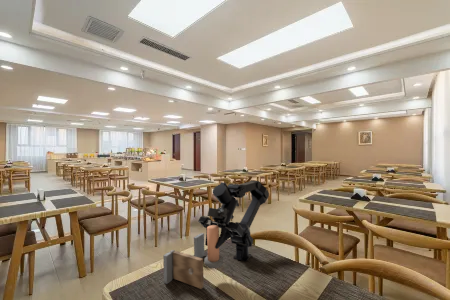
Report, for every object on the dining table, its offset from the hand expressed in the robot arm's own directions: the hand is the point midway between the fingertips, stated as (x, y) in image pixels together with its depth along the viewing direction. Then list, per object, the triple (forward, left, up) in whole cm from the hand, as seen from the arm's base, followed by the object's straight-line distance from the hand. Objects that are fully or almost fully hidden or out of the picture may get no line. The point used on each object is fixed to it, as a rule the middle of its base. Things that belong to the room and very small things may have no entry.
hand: (210, 246), depth 80 cm
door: (+5, -8, -13) cm, 16 cm away
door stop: (-1, 0, -7) cm, 7 cm away
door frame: (-2, -15, -13) cm, 20 cm away
